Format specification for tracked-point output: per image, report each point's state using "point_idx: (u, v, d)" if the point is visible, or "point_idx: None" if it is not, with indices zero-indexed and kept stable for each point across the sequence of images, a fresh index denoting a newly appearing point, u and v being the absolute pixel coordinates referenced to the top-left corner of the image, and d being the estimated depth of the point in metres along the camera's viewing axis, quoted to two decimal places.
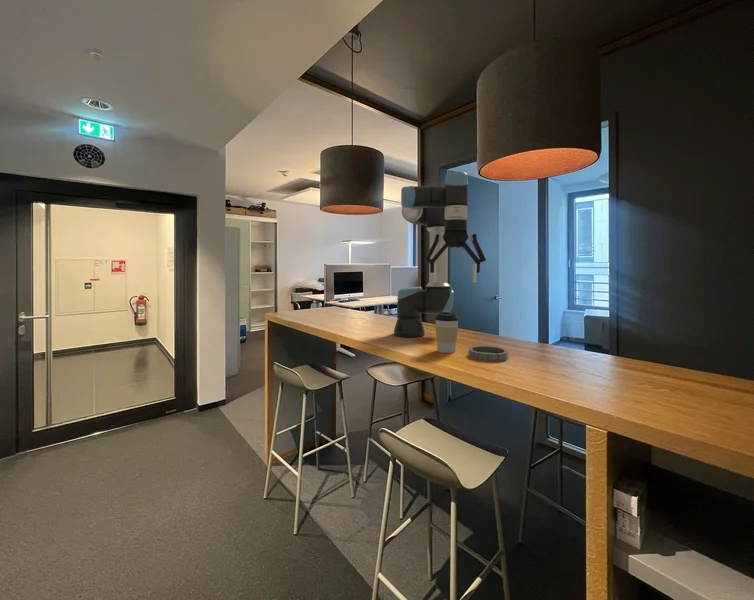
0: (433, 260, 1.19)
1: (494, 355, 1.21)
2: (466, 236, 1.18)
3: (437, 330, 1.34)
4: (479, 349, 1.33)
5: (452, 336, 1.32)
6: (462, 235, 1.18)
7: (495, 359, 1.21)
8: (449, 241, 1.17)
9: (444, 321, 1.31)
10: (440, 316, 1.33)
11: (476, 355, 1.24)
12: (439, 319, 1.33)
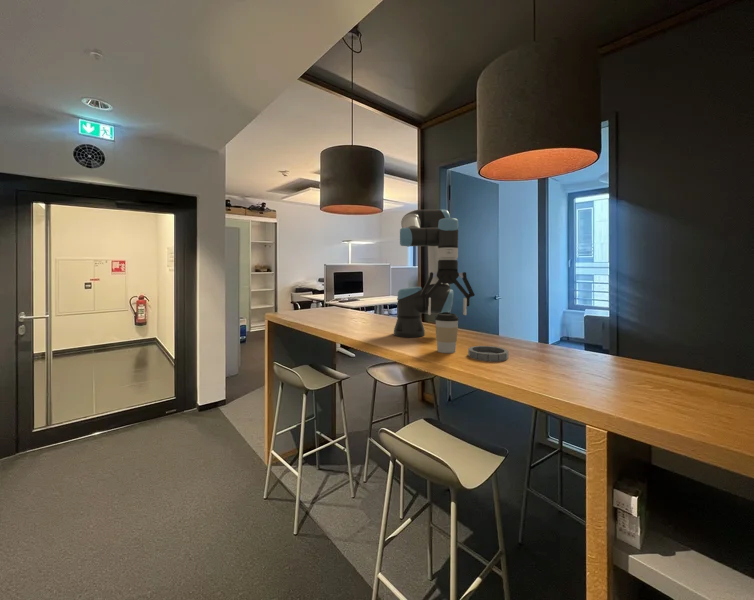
0: (428, 295, 1.34)
1: (494, 355, 1.21)
2: (457, 274, 1.33)
3: (437, 330, 1.34)
4: (479, 349, 1.33)
5: (452, 336, 1.32)
6: (453, 273, 1.33)
7: (495, 359, 1.21)
8: (442, 278, 1.32)
9: (444, 321, 1.31)
10: (440, 316, 1.33)
11: (476, 355, 1.24)
12: (439, 319, 1.33)
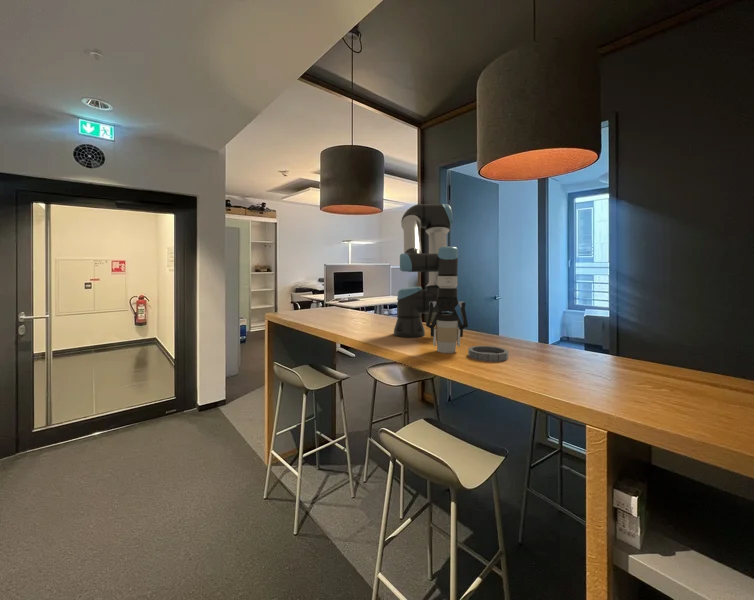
0: (433, 326, 1.35)
1: (494, 355, 1.21)
2: (456, 302, 1.34)
3: (437, 330, 1.34)
4: (479, 349, 1.33)
5: (451, 336, 1.32)
6: (453, 300, 1.34)
7: (495, 359, 1.21)
8: (442, 307, 1.33)
9: (444, 321, 1.31)
10: (440, 316, 1.33)
11: (476, 355, 1.24)
12: (439, 319, 1.33)
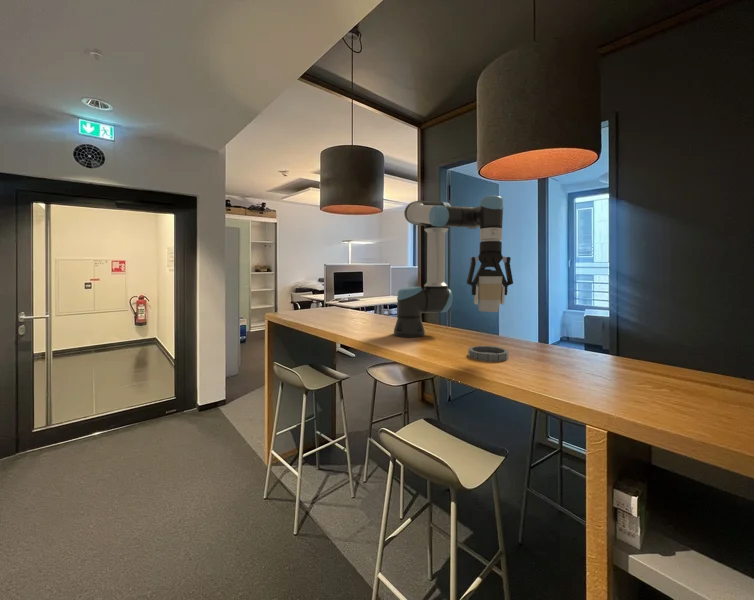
0: (475, 283, 1.25)
1: (494, 355, 1.21)
2: (501, 257, 1.24)
3: (480, 287, 1.24)
4: (479, 349, 1.33)
5: (496, 293, 1.22)
6: (497, 255, 1.24)
7: (495, 359, 1.21)
8: (485, 262, 1.23)
9: (488, 276, 1.21)
10: (483, 272, 1.23)
11: (476, 355, 1.24)
12: (482, 275, 1.23)
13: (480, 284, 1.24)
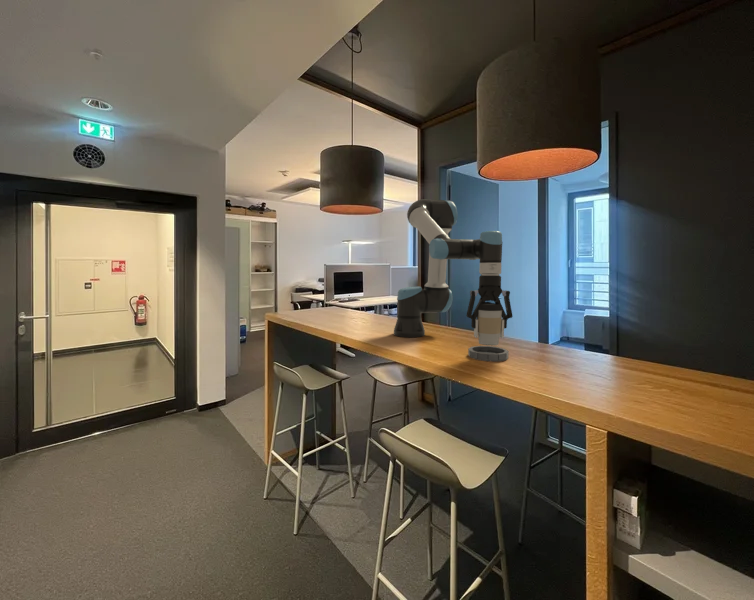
0: (475, 316, 1.26)
1: (494, 355, 1.21)
2: (500, 291, 1.25)
3: (479, 321, 1.25)
4: (479, 349, 1.33)
5: (496, 327, 1.23)
6: (497, 289, 1.25)
7: (495, 359, 1.21)
8: (485, 296, 1.24)
9: (488, 310, 1.22)
10: (483, 306, 1.24)
11: (476, 355, 1.24)
12: (482, 309, 1.23)
13: (480, 318, 1.25)
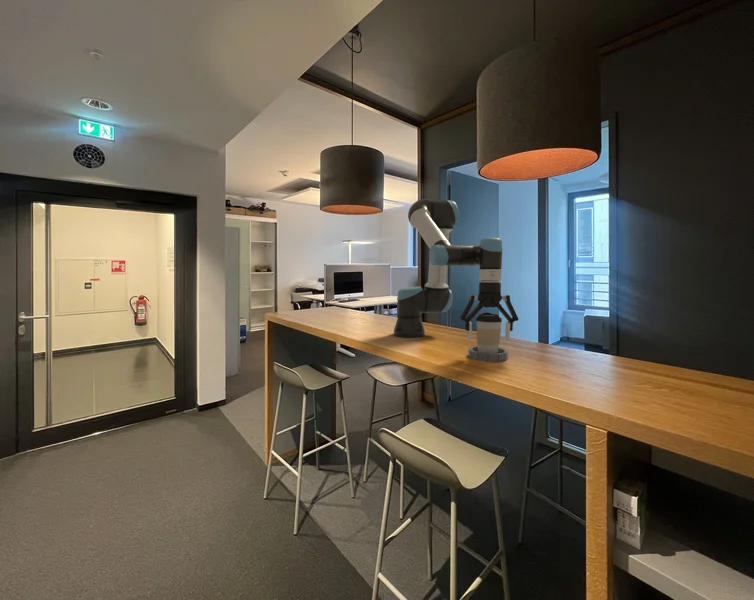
0: (469, 319, 1.26)
1: (494, 355, 1.21)
2: (500, 297, 1.25)
3: (479, 332, 1.26)
4: None
5: (495, 338, 1.24)
6: (496, 296, 1.25)
7: (495, 359, 1.21)
8: (484, 302, 1.25)
9: (487, 322, 1.23)
10: (482, 317, 1.25)
11: (476, 355, 1.24)
12: (481, 320, 1.24)
13: (479, 329, 1.25)
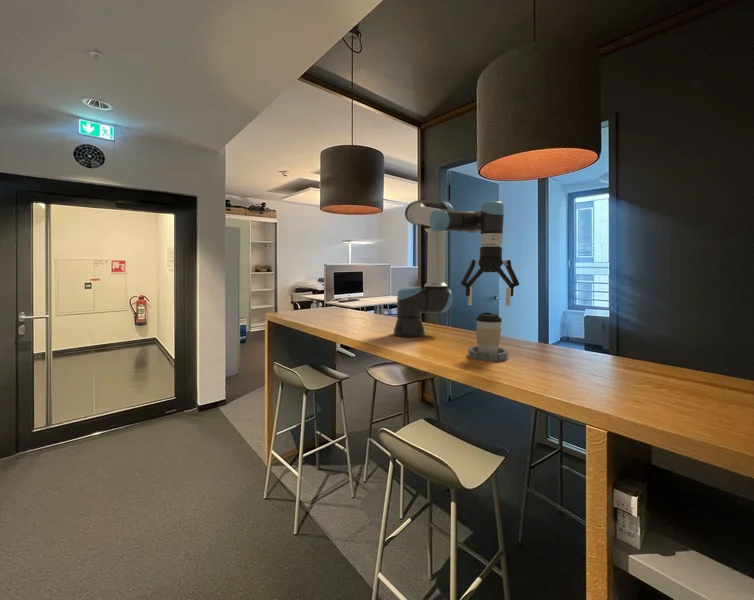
0: (469, 284, 1.25)
1: (494, 355, 1.21)
2: (501, 262, 1.24)
3: (479, 332, 1.26)
4: None
5: (495, 338, 1.24)
6: (497, 261, 1.24)
7: (495, 359, 1.21)
8: (485, 267, 1.24)
9: (487, 322, 1.23)
10: (482, 317, 1.25)
11: (476, 355, 1.24)
12: (481, 320, 1.24)
13: (479, 329, 1.25)
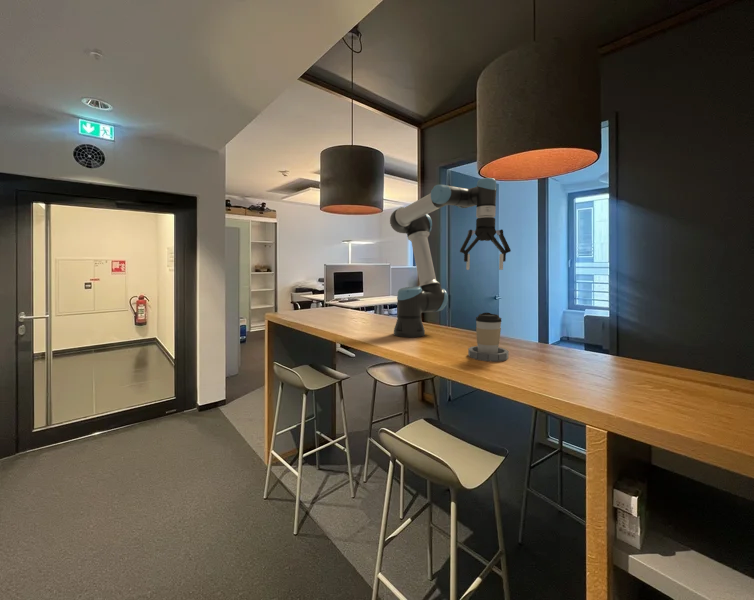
0: (467, 251, 1.43)
1: (494, 355, 1.21)
2: (494, 231, 1.42)
3: (478, 332, 1.26)
4: None
5: (495, 338, 1.24)
6: (491, 230, 1.42)
7: (495, 359, 1.21)
8: (480, 235, 1.42)
9: (487, 322, 1.23)
10: (482, 317, 1.25)
11: (476, 355, 1.24)
12: (481, 320, 1.24)
13: (479, 329, 1.25)
